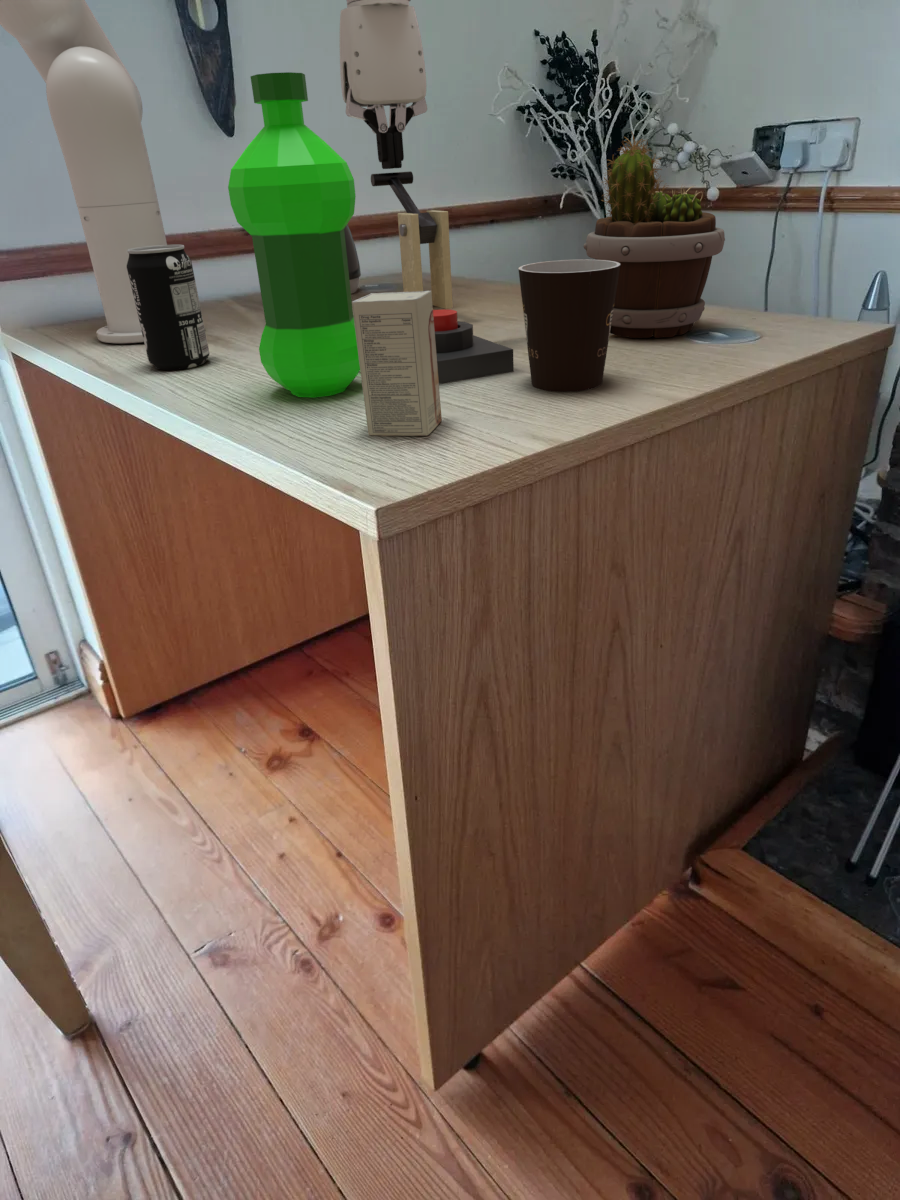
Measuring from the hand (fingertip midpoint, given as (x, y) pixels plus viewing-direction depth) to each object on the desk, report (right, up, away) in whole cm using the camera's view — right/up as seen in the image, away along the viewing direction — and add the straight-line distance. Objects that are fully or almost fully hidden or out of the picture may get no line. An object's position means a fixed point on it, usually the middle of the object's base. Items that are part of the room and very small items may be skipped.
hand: (391, 168), depth 104 cm
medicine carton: (+4, -43, -41) cm, 60 cm away
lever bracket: (+5, -20, +1) cm, 20 cm away
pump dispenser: (-11, -11, +18) cm, 24 cm away
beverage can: (-22, -30, -15) cm, 41 cm away
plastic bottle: (-5, -37, -29) cm, 47 cm away
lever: (+2, -7, -1) cm, 7 cm away
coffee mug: (+19, -36, -30) cm, 51 cm away
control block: (+7, -33, -24) cm, 41 cm away
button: (+7, -30, -25) cm, 40 cm away
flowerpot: (+30, -26, -13) cm, 42 cm away
